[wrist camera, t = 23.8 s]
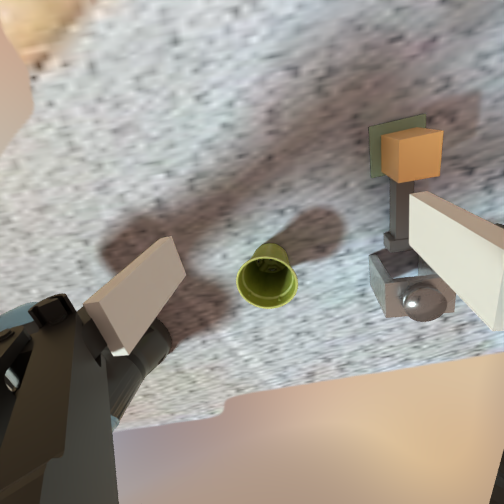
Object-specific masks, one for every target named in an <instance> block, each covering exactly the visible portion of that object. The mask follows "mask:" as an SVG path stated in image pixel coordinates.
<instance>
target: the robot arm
mask: <svg viewBox="0 0 504 504" xmlns="http://www.w3.org/2000/svg"><path fill="white" fill-rule="evenodd" d="M409 245H410V246H411V247H412V248H413V249H414V250H415V251H416V252H417V253H418V254H419V255H420V256H421V257H422V258H423V259H424V261H425V262H426V263H427V264H428V265H429V266H430V267H431V268H432V269H433V270H434V271H435V272H436V273H437V274H438V275H439V276H440V277H441V278H442V279H443V280H444V281H445V282H446V283H447V284H448V285H449V286H450V288H451V289H452V290H453V291H454V292H455V293H456V294H457V295H458V296H459V297H460V298H461V299H462V300H463V301H464V302H465V303H466V304H467V305H468V306H469V307H470V308H471V309H472V310H473V311H474V312H475V313H476V314H477V316H478V317H479V318H480V319H481V320H482V321H483V322H484V323H485V324H486V325H487V326H488V327H489V328H490V329H491V330H492V331H504V225H502V224H493V223H491V222H489V221H487V220H485V219H482V218H480V217H478V216H476V215H474V214H472V213H470V212H468V211H466V210H464V209H462V208H460V207H458V206H456V205H454V204H452V203H450V202H448V201H446V200H444V199H442V198H440V197H438V196H436V195H434V194H432V193H430V192H428V191H424V192H418V193H412V194H410V195H409ZM185 276H186V273H185V270H184V268H183V265H182V262H181V260H180V257H179V254H178V252H177V249H176V247H175V244H174V241H173V239H172V236H169V237H164V238H160V239H159V240H158V241H156V242H155V243H154V244H153V245H152V246H150V247H149V248H148V249H147V250H146V251H144V252H143V253H142V254H141V255H140V256H139V257H137V258H136V259H135V260H134V261H133V262H131V263H130V264H129V265H128V266H127V267H126V268H124V269H123V270H122V271H121V272H120V273H118V274H117V275H116V276H115V277H114V278H112V279H111V280H110V281H109V282H108V283H107V284H105V285H104V286H103V287H102V288H101V289H99V290H98V291H97V292H96V293H95V294H94V295H92V296H91V297H90V298H89V299H88V300H86V301H85V302H84V303H83V307H82V308H81V309H80V310H78V311H77V312H76V310H75V308H74V307H73V305H72V303H71V302H70V300H69V299H68V297H67V295H66V294H57V295H54V296H51V297H48V298H46V299H44V300H42V301H40V302H39V303H38V302H31V303H27V304H24V305H21V306H19V307H17V308H14V309H12V310H10V311H8V312H6V313H4V314H2V315H0V504H119V501H118V490H117V480H116V468H115V457H114V446H113V435H112V432H113V431H114V429H115V428H116V427H117V426H118V424H119V423H120V419H121V418H122V416H123V414H124V412H125V411H126V409H127V407H128V406H129V404H130V402H131V400H132V399H133V397H134V395H135V394H136V392H137V390H138V388H139V387H140V385H141V383H142V381H143V380H144V378H145V377H146V376H147V375H148V374H149V373H150V372H151V371H152V370H153V369H154V368H155V367H157V365H159V364H160V363H161V362H162V361H163V360H164V359H165V358H166V356H167V354H168V352H169V351H170V348H171V337H170V334H169V332H168V330H167V329H166V328H165V326H164V325H163V324H162V323H161V322H160V321H159V320H157V319H156V317H157V315H158V314H159V312H160V311H161V310H162V308H163V307H164V305H165V304H166V303H167V301H168V300H169V298H170V297H171V296H172V294H173V293H174V291H175V290H176V289H177V287H178V286H179V285H180V283H181V282H182V280H183V279H184V278H185ZM489 504H504V451H503V454H502V458H501V462H500V466H499V469H498V473H497V476H496V480H495V484H494V488H493V492H492V495H491V499H490V503H489Z"/></svg>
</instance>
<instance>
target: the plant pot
mask: <svg viewBox="0 0 504 504" xmlns="http://www.w3.org/2000/svg"><path fill="white" fill-rule="evenodd" d="M257 259H259V262H260V263H258V261H257ZM269 259H272V260H269ZM275 268H276V270H274V271H271V270H269V269H275ZM236 284H237V288H238V291H239V293H240V294H241V296H242V297H243V298H244V299H245V300H246V301H247V302H248V303H250V304H252V305H254V306H256V307H259V308H265V309H272V308H278V307H281V306H283V305H285V304H287V303H288V302H290V301H291V300H292V299H293V297H294V296H295V294H296V292H297V289H298V280H297V276H296V274H295V272H294V270H293V269H292V267H291V266H290V264H289V260H288V256H287V253H286V251H285V250H284V249H283V248H282V247H280V246H279V245H277V244H274V243H267V244H263V245H261V246H260V247H259V248H258V249H257V250H256V251H255V253H254V254H253V256H252V258H251V259H250V260H248V261H247V262H245V263H244V264H243V265H242V266H241V268H240V269H239V271H238V274H237V277H236Z"/></svg>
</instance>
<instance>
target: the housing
mask: <svg viewBox="0 0 504 504" xmlns="http://www.w3.org/2000/svg"><path fill="white" fill-rule="evenodd" d="M369 271H370V285H371V287H372V290H373V292H374V294H375V296H376V298H377V300H378V302H379V304H380V306H381V308H382V311H383V313H384V315H385V317H386V318H390V317H402V316H409V317H410V318H411V319H413V320H416V321H420V322H426V321H431V320H434V319H437V318H438V317H440V316H441V315H442V314H443V313H451V312H454V308H455V298H456V293H455V292H454V291H453V290H452V289H451V288H450V286H449V285H448V284H447V283H446V282H445V281H444V280H443V279H442V278H441V277H440V276H439V275H438V274H437V273H436V272H435V271H434V270H433V269H432V268H431V267H430V266H429V265H428V264H427V263H426V262H425V261H424V259H423V258H422V257H421V256H420V255H418V276H414V277H405V278H396V279H392V278H391V277H390V275H389V274H388V272H387V271H386V269H385V267H384V266H383V264H382V263H381V261H380V260H379V258H378V256H377V255H376V254H374V255H369Z"/></svg>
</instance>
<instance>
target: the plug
mask: <svg viewBox="0 0 504 504" xmlns="http://www.w3.org/2000/svg"><path fill="white" fill-rule="evenodd" d="M443 132H444V131H442V130H434V129H427V128H419V127H416V128H412V129H407V130H402V131H398V132H393V133H389V134H384V135H381V172H382V173H384V174H385V175H387V176H388V177H390V233H384V245H385V247H386V248H387V250H388V251H389V253H393V252H401V251H408V250H414V249H413V248H412V247H411V246H410V245H409V195H410V194H412V193H414V180H420V179H425V178H431V177H436V176H440V167H441V155H442V144H443Z"/></svg>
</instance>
